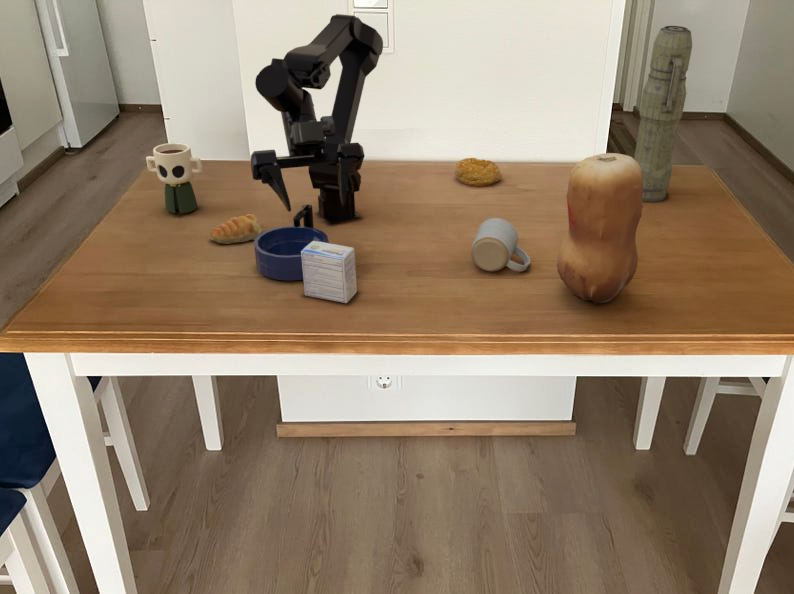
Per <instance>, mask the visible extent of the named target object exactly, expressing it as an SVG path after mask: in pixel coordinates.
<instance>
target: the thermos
mask: <svg viewBox="0 0 794 594" xmlns="http://www.w3.org/2000/svg"><path fill="white" fill-rule="evenodd" d="M652 47H653V48H652V52H651V58H650V64H649V68H650V69H649V73H648V77H647V79H646V82H645V83H644V85H643V89H642V95H641V100H640V107H639V117H640V121H639V128H638V132H637V133H638V134H637V139H636V146H635V150H634V156H633V158H634V159H635V160H636V161H637V162H638V164H639V165H640V167H641V170H642V175H643V199H642V202H652V203H653V202H661V201H663V200H665V199H666V197H667V192H668V188H669V186H670V180H671V176H672V170H673V166H672V157H673V153H674V147H675V143H676V138H677V131H678V128H679V127H678V126H679V122H681V121H680V120H681V119H682V118H683V114H684V113H683V112H684V108H685V103H686V97H687V87H686V86H687V85H686V81H687V71H688V70H689V65H690V60H691V56H692V50H693V36H692V31H691V30H689V28H687V27H685V26H680V25H665V26H664V27H661V28H660V29H659V31H658V33H657V35H656V36H655V38H654V42H653V46H652Z"/></svg>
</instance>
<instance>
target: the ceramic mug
mask: <svg viewBox="0 0 794 594" xmlns="http://www.w3.org/2000/svg"><path fill="white" fill-rule="evenodd" d="M518 243H519V236H518V232H517V230H516V228H515V226H514V225H512V223H510V222H509V221H507V220H506V219H504V218H499V217H492V218H488V219H486V220H484V221H483V222H482V223H481V224H480V225H479V227H478V230H477V232H476V235H475V237H474V240H473V241H472V244H471V250H470V252H471V253H470V254H471V258H472V261H473V263H474V264H475V265H476V266H477V267H478V268H479V269H481V270H483V271H484V272H485V271H486V272H497V271H501V270H502V269H503V268H505V267H507V269H510V270H512V271H514V272H525V271H526V270H527V269H528V267H529V266H530V264H531V258H530V255H529V254H528V253H527V252H526V251H525V250H524V249H522V248H521V247H520V246H518ZM514 254H515V255H516V256H517V257H519V258H520V259H521V261H523V263H524V264H521V263H517V262H515V261H514V260H511V259H512V256H513V255H514Z"/></svg>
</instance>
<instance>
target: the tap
mask: <svg viewBox="0 0 794 594" xmlns="http://www.w3.org/2000/svg"><path fill="white" fill-rule="evenodd" d="M313 213H314V212H313V205H312V204H310V203H309V204H303V205H302V206H301V209H300V210H299V211H298V212H297V213H295V215H293V218H292V221H293V226H294V227H300V226H302V225H301V220H302V221H303V226H306V227H311V228H315V227H314V214H313Z"/></svg>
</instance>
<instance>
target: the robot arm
mask: <svg viewBox="0 0 794 594" xmlns="http://www.w3.org/2000/svg"><path fill="white" fill-rule="evenodd" d="M383 50H384V40H383V37H382V36H381V34H380V33H379V32H378V31H377V29H375V27H372V26H370V25H369V24H367V23H364V22H363V21H362V20H361V19H360V18H359V17H357V16H356V15H353V14H341V13H336V14H334V15H333V14H332V15H331V17H330V19H329V23H328V24H327V25H325V27H323V29H321V31H320V32H319V33H318V34H317V35H316V36H315V37H314V38H313V40H312V41H311V42H309V43H308V44H306V45H302V46H297V47H294V48H292V49H291V50H289V51H288V52H286V54H285V55H284V57H283V58H275V57H272V58H271V62H270V64H269V65H266V66H264V67H263V68H261V70H260V71H259V73H258V74H257V75H256V76H255V81H254V84H255V89H256V91H257V92H258V94H259V95H260V96H261V97H262V98H263V99H264V100H265V101H266V102H267V103H268V104H269V105H270V106H271V107H272V108H273V109H274V110H275V111H277V112H280V115H281V120H282V124H283V126H282V127H283V130H284V135H285V139H286V146H287V151H288V155H286V156H277V153H276V150H275V149H265V150H254V151H253V152H252V153H251V154H250V169H251V175H252V179H253V181H254V180H255V181H261V184H264V185H267V186H269V187H270V188H271V190H272V191H273V192H274V193H275V194H276V196H277V197H278V198H279V199H280V201H281V203H282V204H283V206H284V208H286V210H287V212H288V213H290V212H291V211H292V205H291V201H290V198H289V193H288V191H287V188H286V184H285V181H284V177H283V174H282V170H283V169H293V168H306V167H308V174H309V178H310V182H311V186H312V189H314V190H319V195H318V196H317V202H318V211H317V214H318V215H319V216H320V217H321V218H323V220H325V221H326V222H327V223H328V224H330V225H334V224H339V223H344V222H347V221H352V220H357V219H359V218H360V216H359V214H358V213H356V202H355V201H356V200H355V197H356V196H355V193H356V192H360V191H361V190H360V189H361V184H362V175H361V173H360V172H359V170H361V169H362V165H363V162H364V159H365V151H364V147H363V146H362V144H361V143H359V142H352V138H353V134H354V129H355V124H356V120H357V116H358V112H359V108H360V103H361V98H362V95H363V90H364V85H365V81H366V77H368V76H369V75H370V73H372V72H373V71H374V70H375V69H376V68H377V65H378V63H379V59H380V56H381V55H382V53H383ZM337 58H338V59H339V61H340V64H341V71H340V72H341V73H340V76H339V81H338V85H337V89H336V94H335V98H334V102H333V107H332V110H331V111H332V112H331V115H323V116H321V117H320V118H319V120H317V116H316V112H315V104H314V102H313V96H312V94H311V93H310V92H309V91H308V90H306V89H310V90H311V89H312V90H322V89H324V87H325V86H326V84H327V83H328V82H329V81H330V78H331V76H332V75H331V74H332V73H331V65H332V64H333V63H334V61H335V60H336V59H337Z"/></svg>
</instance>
